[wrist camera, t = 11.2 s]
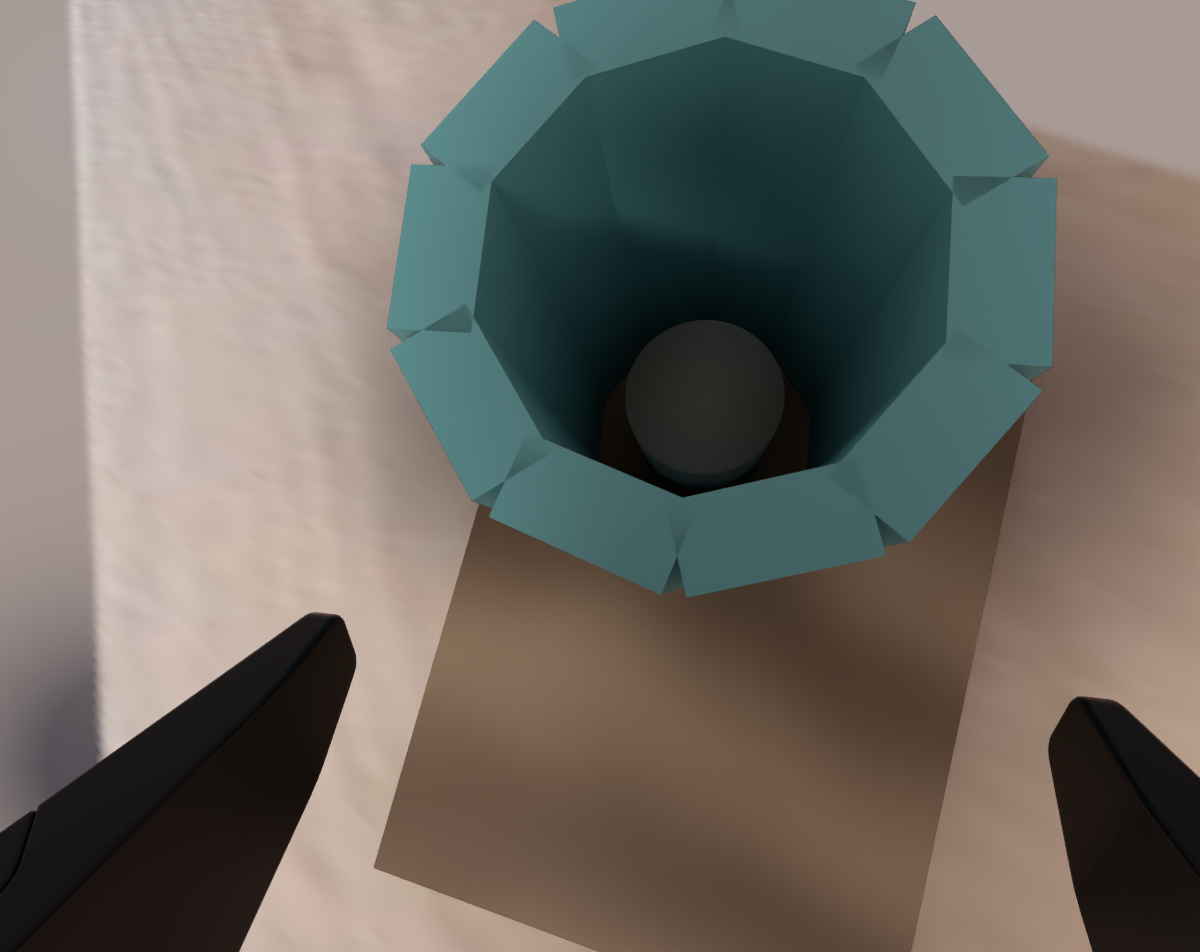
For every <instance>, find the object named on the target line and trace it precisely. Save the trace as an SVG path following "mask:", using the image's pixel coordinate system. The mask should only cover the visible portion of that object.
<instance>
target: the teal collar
mask: <svg viewBox="0 0 1200 952" xmlns="http://www.w3.org/2000/svg"><path fill="white" fill-rule="evenodd" d="M915 4H916V3H915V2H911V1H907V0H577V1H573V2H570V3H567V4H563V5H560V6H557V7H554V8H553V9H554V14H555V18H556V23H557V27H558V32H559V36H560V38H559V37H557V36H556V35H555V34H553V33H552V32H551V31H549V30H548V29H546V28H545V27H544V26H542V25H541V24H540V23H538V22H537V21H535V20H533V21H532V23H531V24H530V25H529V26H528V27H527V28H526V29H525V30H524V31H523V33H522V34H521V35H520V36H519V37H518V38H517V39H516V40H515V41H514V42H513V44H512V45H511V46H510V47H509V48H508V49H507V50H506V51H505V52H504V54H503V55H502V56H501V57H500V58H499V59H498V60H497V61H496V62H495V64H494V65H493V66H492V67H491V68H490V69H489V70H488V71H487V72H486V73H485V75H484V76H483V77H482V78H481V79H480V80H479V81H478V82H477V83H476V85H475V86H474V87H473V88H472V89H471V90H470V91H469V92H468V93H467V95H466V96H465V97H464V98H463V99H462V100H461V101H460V102H459V103H458V104H457V106H456V107H455V108H454V109H453V110H452V111H451V112H450V113H449V114H448V116H447V117H446V118H445V119H444V120H443V121H442V122H441V123H440V124H439V125H438V127H437V128H436V129H435V130H434V131H433V132H432V133H431V134H430V135H429V137H428V138H427V139H426V140H425V141H424V142H423V143H422V144H421V146H422V148H423V149H424V151H425V152H426V154H427V155H428V157H429V158H430V160H431V162H432V163H433V165H411V171H410V177H409V184H408V191H407V197H406V204H405V210H404V217H403V224H402V230H401V237H400V244H399V250H398V257H397V264H396V270H395V277H394V284H393V290H392V297H391V304H390V310H389V317H388V324H387V329H388V330H390V331H391V332H392V333H393V334H395V335H396V336H397V337H398V338H400V339H401V340H402V341H403V342H402V343H400V344H399V345H397V346H395V347H394V348H392V349H391V352H392V354H393V355H394V357H395V359H396V361H397V363H398V365H399V367H400V369H401V370H402V372H403V374H404V376H405V378H406V380H407V382H408V383H409V385H410V387H411V389H412V391H413V393H414V395H415V396H416V398H417V400H418V402H419V404H420V406H421V408H422V410H423V411H424V413H425V415H426V417H427V419H428V421H429V423H430V424H431V426H432V428H433V430H434V432H435V434H436V436H437V437H438V439H439V441H440V443H441V445H442V447H443V449H444V451H445V452H446V454H447V456H448V458H449V460H450V462H451V464H452V465H453V467H454V469H455V471H456V473H457V475H458V477H459V478H460V480H461V482H462V484H463V486H464V488H465V490H466V492H467V493H468V495H469V497H470V499H471V501H473V502H476V503H479V504H482V505H485V506H487V507H490V508H492V511H491V513H490V515H489V517H490V518H492V519H494V520H497V521H499V522H501V523H503V524H505V525H508V526H510V527H512V528H514V529H516V530H519V531H521V532H523V533H525V534H528V535H530V536H532V537H534V538H536V539H539V540H541V541H543V542H545V543H547V544H550V545H552V546H554V547H556V548H558V549H561V550H563V551H565V552H567V553H569V554H572V555H574V556H576V557H578V558H581V559H583V560H585V561H587V562H589V563H592V564H594V565H596V566H598V567H600V568H603V569H605V570H607V571H609V572H611V573H614V574H616V575H618V576H620V577H622V578H625V579H627V580H629V581H631V582H634V583H636V584H638V585H640V586H642V587H645V588H647V589H649V590H651V591H653V592H656V593H658V594H660V595H662V594H665V593H668V592H671V591H675V590H678V589H681V588H684V589H685V594H686V598H687V597H692V596H697V595H702V594H706V593H711V592H716V591H721V590H725V589H730V588H735V587H740V586H745V585H749V584H754V583H759V582H764V581H768V580H773V579H778V578H783V577H787V576H792V575H797V574H802V573H807V572H811V571H816V570H821V569H826V568H830V567H835V566H840V565H845V564H849V563H854V562H859V561H864V560H869V559H873V558H878V557H883V556H886V553H885V550H884V547H888V546H893V545H898V544H904V543H909V542H910V541H911V540H912V539H913V538H914V537H915V535H916V534H917V533H918V532H919V531H920V530H921V529H922V528H923V526H924V525H925V524H926V523H927V522H928V521H929V520H930V518H931V517H932V516H933V515H934V514H935V513H936V512H937V510H938V509H939V508H940V507H941V506H942V505H943V504H944V502H945V501H946V500H947V499H948V498H949V497H950V496H951V494H952V493H953V492H954V491H955V490H956V489H957V488H958V486H959V485H960V484H961V483H962V482H963V481H964V480H965V479H966V477H967V476H968V475H969V474H970V473H971V472H972V471H973V469H974V468H975V467H976V466H977V465H978V464H979V463H980V461H981V460H982V459H983V458H984V457H985V456H986V455H987V453H988V452H989V451H990V450H991V449H992V448H993V447H994V445H995V444H996V443H997V442H998V441H999V440H1000V439H1001V438H1002V436H1003V435H1004V434H1005V433H1006V432H1007V431H1008V430H1009V428H1010V427H1011V426H1012V425H1013V424H1014V423H1015V422H1016V420H1017V419H1018V418H1019V417H1020V416H1021V415H1022V414H1023V412H1024V411H1025V410H1026V409H1027V408H1028V407H1029V406H1030V404H1031V403H1032V402H1033V401H1034V400H1035V399H1036V398H1037V396H1038V395H1039V394H1040V393H1041V392H1042V391H1043V390H1041V389H1040V388H1039V387H1037V386H1036V385H1035V384H1033V383H1032V382H1030V380H1031V379H1033V378H1035V377H1036V376H1038V375H1039V374H1041V373H1043V372H1044V371H1046V370H1048V369H1049V368H1051V367H1052V356H1053V316H1054V275H1055V235H1056V194H1057V178H1031V177H1032V176H1033V175H1034V173H1035V172H1036V171H1037V170H1038V168H1039V167H1040V166H1041V165H1042V163H1043V162H1044V161H1045V160H1046V159H1047V157H1048V156H1049V155H1048V154H1047V152H1046V151H1045V150H1044V149H1043V147H1042V146H1041V145H1040V144H1039V143H1038V141H1037V140H1036V139H1035V138H1034V136H1033V135H1032V134H1031V133H1030V131H1029V130H1028V129H1027V128H1026V126H1025V125H1024V124H1023V123H1022V121H1021V120H1020V119H1019V118H1018V117H1017V115H1016V114H1015V113H1014V112H1013V111H1012V109H1011V108H1010V107H1009V105H1008V104H1007V103H1006V102H1005V100H1004V99H1003V98H1002V97H1001V95H1000V94H999V93H998V92H997V91H996V89H995V88H994V87H993V86H992V84H991V83H990V82H989V81H988V79H987V78H986V77H985V76H984V74H983V73H982V72H981V71H980V69H978V67H977V66H976V64H975V63H974V62H973V61H972V60H971V58H970V57H969V56H968V55H967V53H966V52H965V51H964V50H963V48H962V47H961V46H960V45H959V43H958V42H957V41H956V40H955V39H954V37H953V36H952V35H951V34H950V32H949V31H948V30H947V29H946V27H945V26H944V25H943V24H942V23H941V21H940V20H939V19H938V17H937V16H934V17H932V18H930V19H929V20H927V21H925V22H924V23H922V24H921V25H919V26H918V27H916V28H914V29H912V30H911V31H909V32H907V33H906V34H905V31H906V28H907V25H908V23H909V20H910V17H911V15H912V12H913V9H914V6H915ZM697 320H715V321H722V322H726V323H730V324H733V325H736V326H738V327H740V328H743V329H744V330H746V331H748V332H750V333H751V334H753V335H754V336H755V337H756V338H758V339H759V340H760V341H761V342H762V343H763V344H764V345H765V346H766V347H767V348H768V350H769V351H770V352H771V354H772V355H773V357H774V358H775V360H776V362H777V363H778V365H779V366H780V368H781V369H782V371H783V372H784V374H785V375H786V377H787V378H788V380H789V381H790V383H791V384H792V386H793V387H794V389H795V390H796V392H797V393H798V395H799V396H800V398H801V400H802V401H803V403H804V404H805V406H806V407H807V409H808V410H809V412H810V413H811V414H810V428H809V443H808V457H807V470H804V471H800V472H795V473H791V474H786V475H782V476H778V477H773V478H769V479H764V480H760V481H755V482H751V483H746V484H742V485H737V486H733V487H728V488H724V489H720V490H715V491H711V492H706V493H702V494H697V495H693V496H688V497H684V498H682V497H679V496H677V495H675V494H672V493H670V492H668V491H665V490H663V489H661V488H658V487H656V486H654V485H651V484H649V483H646V482H644V481H642V480H639V479H637V478H635V477H632V476H630V475H628V474H625V473H623V472H620V471H618V470H616V469H613V468H611V467H609V466H606V465H604V464H602V463H599V454H600V445H601V436H602V426H603V417H604V408H605V399H606V398H607V397H608V395H609V394H610V393H611V392H612V391H613V390H614V389H615V388H616V386H617V385H618V384H619V383H620V382H621V381H622V380H623V379H624V377H625V376H626V375H627V374H628V373H629V372H630V370H631V368H632V366H633V364H634V362H635V360H636V358H637V357H638V355H639V354H640V352H641V351H642V350H643V349H644V348H645V346H646V345H647V344H648V343H649V342H650V341H652V340H653V339H654V338H655V337H656V336H658V335H659V334H661V333H662V332H664V331H666V330H668V329H670V328H671V327H674V326H676V325H679V324H682V323H686V322H690V321H697Z"/></svg>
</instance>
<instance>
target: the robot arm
mask: <svg viewBox="0 0 1200 952" xmlns="http://www.w3.org/2000/svg"><path fill="white" fill-rule="evenodd" d="M355 668H356V654H355V651H354V648H353V645H352V642H351V639H350V636H349V633H348V630H347V628H346V625H345V622H344V620H343V619H342V618H341V617H340V616H339V615H336V614H327V613H318V612H314V613H310V614H307V615H305V616H304V617H302V618H301V619H299V620H298V621H297V622H295V623H294V624H292V625H291V626H290V627H288V628H287V629H285V630H284V631H283V632H281V633H280V634H278V635H277V636H276V637H274V638H273V639H271V640H270V641H269V642H267V643H266V644H264V645H263V646H262V647H260V648H259V649H257V650H256V651H255V652H253V653H252V654H250V655H249V656H248V657H246V658H245V659H243V660H242V661H241V662H239V663H238V664H236V665H235V666H234V667H232V668H231V669H229V670H228V671H227V672H225V673H224V674H222V675H221V676H220V677H218V678H217V679H215V680H214V681H212V682H211V683H210V684H208V685H207V686H205V687H204V688H203V689H201V690H200V691H198V692H197V693H196V694H194V695H193V696H191V697H190V698H189V699H187V700H186V701H184V702H183V703H182V704H180V705H179V706H177V707H176V708H175V709H173V710H172V711H170V712H169V713H168V714H166V715H165V716H163V717H162V718H161V719H159V720H158V721H156V722H155V723H154V724H152V725H151V726H149V727H148V728H147V729H145V730H144V731H142V732H141V733H140V734H138V735H137V736H135V737H134V738H133V739H131V740H130V741H128V742H127V743H126V744H124V745H123V746H121V747H120V748H119V749H117V750H116V751H114V752H113V753H112V754H110V755H109V756H107V757H106V758H105V759H103V760H102V761H100V762H99V763H98V764H96V765H95V766H93V767H92V768H91V769H89V770H88V771H86V772H85V773H84V774H82V775H81V776H79V777H78V778H76V779H75V780H74V781H72V782H71V783H69V784H68V785H67V786H65V787H64V788H63V789H61V790H60V791H58V792H57V793H55V794H54V795H53V796H51V797H50V798H49V799H47V800H46V801H44V802H43V803H41V804H40V805H39V806H38V808H37V811H35V810H33V811H30V812H29V813H27V814H26V815H25V816H23V817H21V818H20V819H19V820H17V821H16V822H15V823H13V824H12V825H10V826H9V827H7V828H6V829H5V830H3V831H2V832H1V833H0V952H239V951H240V949H241V947H242V944H243V942H244V940H245V938H246V936H247V933H248V931H249V929H250V927H251V925H252V923H253V920H254V918H255V916H256V914H257V912H258V910H259V907H260V905H261V903H262V901H263V899H264V896H265V894H266V892H267V890H268V888H269V886H270V883H271V881H272V879H273V877H274V875H275V873H276V870H277V868H278V866H279V864H280V862H281V860H282V857H283V855H284V853H285V851H286V849H287V846H288V844H289V842H290V840H291V838H292V836H293V833H294V831H295V829H296V827H297V825H298V823H299V820H300V818H301V816H302V814H303V812H304V809H305V807H306V805H307V803H308V801H309V799H310V796H311V794H312V792H313V789H314V787H315V785H316V782H317V780H318V778H319V775H320V772H321V770H322V767H323V764H324V761H325V758H326V756H327V753H328V750H329V747H330V744H331V741H332V738H333V735H334V732H335V729H336V726H337V723H338V720H339V717H340V714H341V711H342V708H343V705H344V702H345V699H346V697H347V694H348V691H349V688H350V685H351V682H352V679H353V676H354V673H355ZM1048 753H1049V761H1050V766H1051V772H1052V777H1053V782H1054V788H1055V793H1056V798H1057V804H1058V809H1059V814H1060V819H1061V825H1062V830H1063V835H1064V841H1065V846H1066V851H1067V856H1068V862H1069V867H1070V872H1071V876H1072V881H1073V886H1074V890H1075V894H1076V897H1077V901H1078V905H1079V908H1080V912H1081V915H1082V918H1083V922H1084V925H1085V928H1086V932H1087V935H1088V938H1089V941H1090V945H1091V948H1092V951H1093V952H1200V777H1199V776H1198V775H1197V774H1195V773H1194V772H1193V771H1192V770H1191V769H1190V768H1189V767H1188V766H1187V765H1186V764H1185V763H1184V762H1183V761H1182V760H1180V759H1179V758H1178V757H1177V756H1176V755H1175V754H1174V753H1173V752H1172V751H1171V750H1170V749H1169V748H1168V747H1167V746H1166V745H1164V744H1163V743H1162V742H1161V741H1160V740H1159V739H1158V738H1157V737H1156V736H1155V735H1154V734H1153V733H1152V732H1151V731H1150V730H1148V729H1147V728H1146V727H1145V726H1144V725H1143V724H1142V723H1141V722H1140V721H1139V720H1138V719H1137V718H1136V717H1135V716H1134V715H1132V714H1131V713H1130V712H1129V711H1128V710H1127V709H1126V708H1125V707H1124V706H1122V705H1121V704H1119V703H1118V702H1116V701H1114V700H1109V699H1102V698H1093V697H1083V696H1081V697H1076V698H1075V699H1073V700H1072V701H1071V702H1070V703H1069V705H1068V707H1067V709H1066V710H1065V712H1064V714H1063V716H1062V717H1061V719H1060V721H1059V723H1058V724H1057V726H1056V728H1055V730H1054V731H1053V733H1052V735H1051V737H1050V741H1049V747H1048Z"/></svg>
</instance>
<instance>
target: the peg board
mask: <svg viewBox="0 0 1200 952" xmlns="http://www.w3.org/2000/svg"><path fill="white" fill-rule="evenodd" d="M1031 381H1032V379H1031V380H1030V382H1031ZM810 414H811V413H810V412H809V410H808V409H807V407H806V406H805V404H804V403H803V401H802V400H801V398H800V396H799V395H798V393H797V392H796V390H795V389H794V387H793V386H792V384H791V383H790V381H789V380H788V378H787V377H786V375H785V374H784V372H783V371H782V369H781V368H780V366H779V365H778V363H777V362H776V360H775V358H774V357H773V355H772V354H771V352H770V351H769V350H768V348H767V347H766V346H765V345H764V344H763V343H762V342H761V341H760V340H759V339H758V338H756V337H755V336H754V335H753V334H751V333H750V332H748V331H746V330H744V329H743V328H740V327H738V326H736V325H733V324H730V323H726V322H722V321H715V320H697V321H690V322H686V323H682V324H679V325H676V326H674V327H671V328H670V329H668V330H666V331H664V332H662V333H661V334H659V335H658V336H656V337H655V338H654V339H653V340H652V341H650V342H649V343H648V344H647V345H646V346H645V348H644V349H643V350H642V351H641V352H640V354H639V355H638V357H637V358H636V360H635V362H634V364H633V366H632V368H631V370H630V372H629V373H628V374H627V375H626V376H625V377H624V379H623V380H622V381H621V382H620V383H619V384H618V385H617V386H616V388H615V389H614V390H613V391H612V392H611V393H610V394H609V395H608V397H607V398H606V399H605V408H604V417H603V426H602V436H601V445H600V454H599V463H602V464H604V465H606V466H609V467H611V468H613V469H616V470H618V471H620V472H623V473H625V474H628V475H630V476H632V477H635V478H637V479H639V480H642V481H644V482H646V483H649V484H651V485H654V486H656V487H658V488H661V489H663V490H665V491H668V492H670V493H672V494H675V495H677V496H679V497H682V498H684V497H688V496H693V495H697V494H702V493H706V492H711V491H715V490H720V489H724V488H728V487H733V486H737V485H742V484H746V483H751V482H755V481H760V480H764V479H769V478H773V477H778V476H782V475H786V474H791V473H795V472H800V471H804V470H807V457H808V443H809V428H810ZM1024 414H1025V411H1024V412H1023V414H1022V415H1021V416H1020V417H1019V418H1018V419H1017V420H1016V422H1015V423H1014V424H1013V425H1012V426H1011V427H1010V428H1009V430H1008V431H1007V432H1006V433H1005V434H1004V435H1003V436H1002V438H1001V439H1000V440H999V441H998V442H997V443H996V444H995V445H994V447H993V448H992V449H991V450H990V451H989V452H988V453H987V455H986V456H985V457H984V458H983V459H982V460H981V461H980V463H979V464H978V465H977V466H976V467H975V468H974V469H973V471H972V472H971V473H970V474H969V475H968V476H967V477H966V479H965V480H964V481H963V482H962V483H961V484H960V485H959V486H958V488H957V489H956V490H955V491H954V492H953V493H952V494H951V496H950V497H949V498H948V499H947V500H946V501H945V502H944V504H943V505H942V506H941V507H940V508H939V509H938V510H937V512H936V513H935V514H934V515H933V516H932V517H931V518H930V520H929V521H928V522H927V523H926V524H925V525H924V526H923V528H922V529H921V530H920V531H919V532H918V533H917V534H916V535H915V537H914V538H913V539H912V540H911V541H910V542H909V543H904V544H898V545H893V546H888V547H884V550H885V553H886V556H883V557H878V558H873V559H869V560H864V561H859V562H854V563H849V564H845V565H840V566H835V567H830V568H826V569H821V570H816V571H811V572H807V573H802V574H797V575H792V576H787V577H783V578H778V579H773V580H768V581H764V582H759V583H754V584H749V585H745V586H740V587H735V588H730V589H725V590H721V591H716V592H711V593H706V594H702V595H697V596H692V597H687V598H686V594H685V589H684V588H681V589H678V590H675V591H671V592H668V593H665V594H662V595H660V594H658V593H656V592H653V591H651V590H649V589H647V588H645V587H642V586H640V585H638V584H636V583H634V582H631V581H629V580H627V579H625V578H622V577H620V576H618V575H616V574H614V573H611V572H609V571H607V570H605V569H603V568H600V567H598V566H596V565H594V564H592V563H589V562H587V561H585V560H583V559H581V558H578V557H576V556H574V555H572V554H569V553H567V552H565V551H563V550H561V549H558V548H556V547H554V546H552V545H550V544H547V543H545V542H543V541H541V540H539V539H536V538H534V537H532V536H530V535H528V534H525V533H523V532H521V531H519V530H516V529H514V528H512V527H510V526H508V525H505V524H503V523H501V522H499V521H497V520H494V519H492V518H490V517H489V515H490V513H491V511H492V508H490V507H487V506H485V505H482V504H479V507H478V510H477V514H476V517H475V520H474V524H473V527H472V531H471V534H470V538H469V541H468V545H467V548H466V551H465V555H464V558H463V562H462V565H461V569H460V572H459V576H458V579H457V582H456V586H455V589H454V593H453V596H452V600H451V603H450V607H449V610H448V613H447V617H446V620H445V624H444V627H443V631H442V634H441V637H440V641H439V644H438V648H437V651H436V655H435V658H434V662H433V665H432V668H431V672H430V675H429V679H428V682H427V686H426V689H425V693H424V696H423V699H422V703H421V706H420V710H419V713H418V717H417V720H416V724H415V727H414V730H413V734H412V737H411V741H410V744H409V748H408V751H407V755H406V758H405V761H404V765H403V768H402V772H401V775H400V779H399V782H398V785H397V789H396V792H395V796H394V799H393V803H392V806H391V810H390V813H389V816H388V820H387V823H386V827H385V830H384V834H383V837H382V841H381V844H380V847H379V851H378V854H377V858H376V861H375V865H374V868H375V869H378V870H381V871H383V872H386V873H389V874H391V875H394V876H397V877H400V878H402V879H405V880H408V881H410V882H413V883H416V884H418V885H421V886H424V887H426V888H429V889H432V890H434V891H437V892H440V893H443V894H445V895H448V896H451V897H453V898H456V899H459V900H461V901H464V902H467V903H469V904H472V905H475V906H477V907H480V908H483V909H485V910H488V911H491V912H494V913H496V914H499V915H502V916H504V917H507V918H510V919H512V920H515V921H518V922H520V923H523V924H526V925H528V926H531V927H534V928H537V929H539V930H542V931H545V932H547V933H550V934H553V935H555V936H558V937H561V938H563V939H566V940H569V941H571V942H574V943H577V944H579V945H582V946H585V947H588V948H590V949H593V950H596V951H598V952H911V949H912V944H913V939H914V934H915V930H916V925H917V920H918V916H919V911H920V906H921V901H922V897H923V892H924V887H925V882H926V878H927V873H928V868H929V864H930V859H931V854H932V849H933V845H934V840H935V835H936V830H937V826H938V821H939V816H940V811H941V807H942V802H943V797H944V793H945V788H946V783H947V778H948V774H949V769H950V764H951V759H952V755H953V750H954V745H955V741H956V736H957V731H958V726H959V722H960V717H961V712H962V707H963V703H964V698H965V693H966V689H967V684H968V679H969V674H970V670H971V665H972V660H973V655H974V651H975V646H976V641H977V637H978V632H979V627H980V622H981V618H982V613H983V608H984V603H985V599H986V594H987V589H988V585H989V580H990V575H991V570H992V566H993V561H994V556H995V551H996V547H997V542H998V537H999V532H1000V528H1001V523H1002V518H1003V514H1004V509H1005V504H1006V499H1007V495H1008V490H1009V485H1010V480H1011V476H1012V471H1013V466H1014V462H1015V457H1016V452H1017V447H1018V443H1019V438H1020V433H1021V428H1022V424H1023V419H1024Z"/></svg>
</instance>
